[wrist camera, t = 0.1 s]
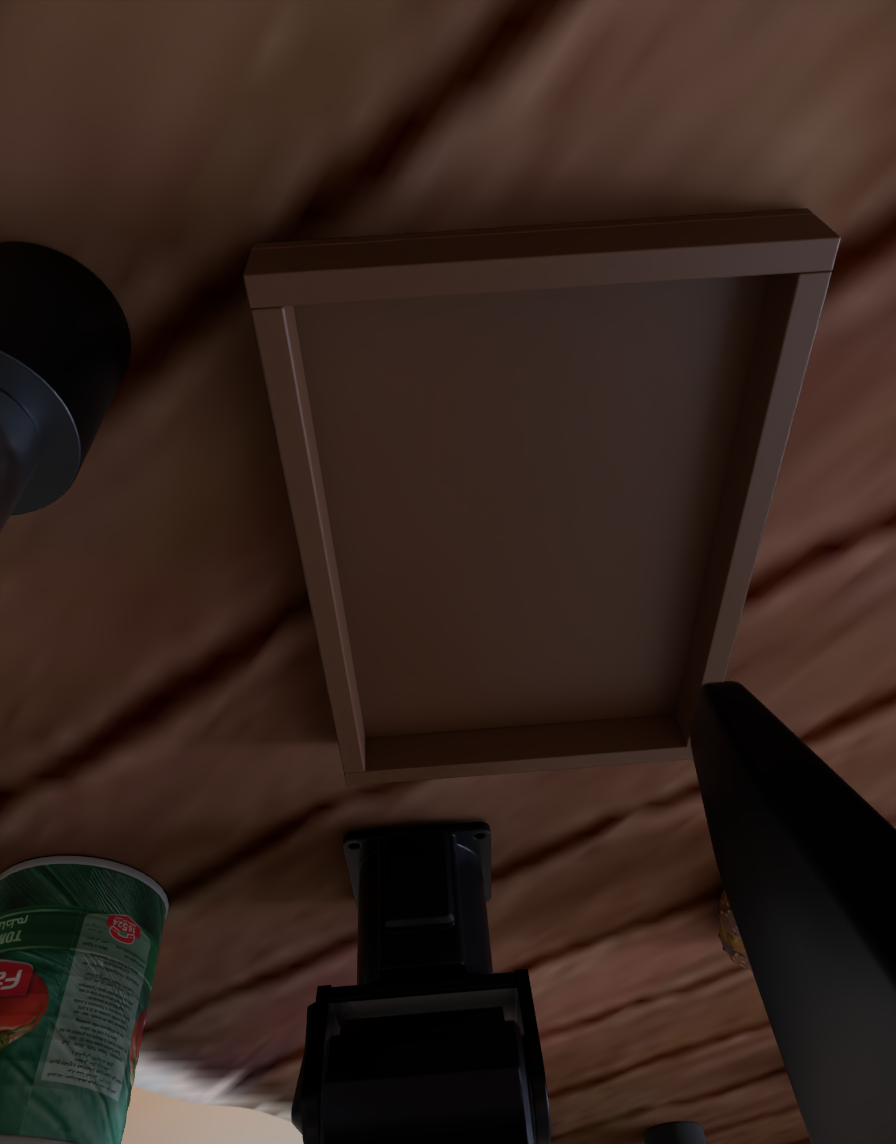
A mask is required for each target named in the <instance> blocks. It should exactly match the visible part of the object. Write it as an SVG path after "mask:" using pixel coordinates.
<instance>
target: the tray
mask: <svg viewBox="0 0 896 1144" xmlns="http://www.w3.org/2000/svg"><path fill="white" fill-rule="evenodd" d="M839 243H840V236H839V235H838V234H836V233H835V232H834V231H833V230H832V229H831V228H830V227H828V226H827V225H826V224H825V223H824V222H823V221H821V220H820V219H819V218H818V217H817V216H816V215H814V214H813V213H812V212H811V211H810V210H809V209H807V208H806V209H790V210H774V211H759V212H743V213H727V214H711V215H696V216H680V217H664V218H648V219H632V220H617V221H601V222H585V223H569V224H554V225H538V226H522V227H506V228H490V229H475V230H459V231H443V232H427V233H412V234H396V235H380V236H364V237H348V238H333V239H317V240H301V241H285V242H270V243H254V244H253V245H252V248H251V252H250V255H249V258H248V261H247V265H246V268H245V271H244V275H243V279H244V284H245V289H246V294H247V299H248V304H249V307H250V308H251V311H250V312H251V317H252V322H253V327H254V332H255V337H256V341H257V346H258V351H259V356H260V361H261V366H262V371H263V376H264V381H265V386H266V391H267V396H268V401H269V405H270V410H271V415H272V420H273V425H274V430H275V435H276V440H277V445H278V450H279V455H280V460H281V465H282V469H283V474H284V479H285V484H286V489H287V494H288V499H289V504H290V509H291V514H292V519H293V524H294V529H295V533H296V538H297V543H298V548H299V553H300V558H301V563H302V568H303V573H304V578H305V583H306V588H307V593H308V597H309V602H310V607H311V612H312V617H313V622H314V627H315V632H316V637H317V642H318V647H319V652H320V657H321V661H322V666H323V671H324V676H325V681H326V686H327V691H328V696H329V701H330V706H331V711H332V716H333V721H334V725H335V730H336V735H337V740H338V745H339V750H340V755H341V760H342V765H343V770H344V776H345V780H346V785H347V786H352V785H365V784H378V783H391V782H403V781H416V780H429V779H442V778H455V777H468V776H481V775H494V774H506V773H519V772H532V771H545V770H558V769H571V768H584V767H597V766H609V765H622V764H635V763H648V762H661V761H674V760H687V759H693V754H692V749H691V744H690V726H691V721H692V717H693V713H694V709H695V705H696V700H697V696H698V692H699V689H700V687H701V686H702V685H703V684H705V683H711V682H724V679H725V675H726V671H727V668H728V664H729V660H730V656H731V652H732V649H733V645H734V641H735V637H736V633H737V630H738V626H739V622H740V618H741V614H742V611H743V607H744V603H745V599H746V595H747V592H748V588H749V584H750V580H751V577H752V573H753V569H754V565H755V561H756V558H757V554H758V550H759V546H760V542H761V539H762V535H763V531H764V527H765V523H766V520H767V516H768V512H769V508H770V504H771V501H772V497H773V493H774V489H775V485H776V482H777V478H778V474H779V470H780V466H781V463H782V459H783V455H784V451H785V448H786V444H787V440H788V436H789V432H790V429H791V425H792V421H793V417H794V413H795V410H796V406H797V402H798V398H799V394H800V391H801V387H802V383H803V379H804V375H805V372H806V368H807V364H808V360H809V356H810V353H811V349H812V345H813V341H814V337H815V334H816V330H817V326H818V322H819V319H820V315H821V311H822V307H823V303H824V300H825V296H826V292H827V288H828V284H829V281H830V277H831V270H832V269H833V265H834V262H835V258H836V254H837V250H838V246H839Z"/></svg>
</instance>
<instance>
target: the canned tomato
mask: <svg viewBox="0 0 896 1144" xmlns="http://www.w3.org/2000/svg"><path fill="white" fill-rule="evenodd" d="M168 906H169V904H168V899H167V896H166V894H165V893H164V891H163V889H162V888H161V887H160V886H159V885H158V884H157V883H156V882H155V881H154V880H153V879H151V878H150V877H148V876H147V875H145V874H144V873H142V872H140V871H138V870H136V869H133V868H131V867H129V866H126V865H123V864H120V863H116V862H113V861H109V860H104V859H99V858H94V857H84V856H51V857H42V858H37V859H33V860H29V861H25V862H22V863H20V864H17V865H15V866H12V867H10V868H9V869H7V870H6V871H4V872H3V873H1V874H0V1144H121V1140H122V1135H123V1132H124V1128H125V1123H126V1114H127V1110H128V1107H129V1103H130V1096H131V1089H132V1086H133V1083H134V1077H135V1069H136V1065H137V1062H138V1057H139V1048H140V1045H141V1042H142V1036H143V1028H144V1025H145V1021H146V1016H147V1008H148V1005H149V1001H150V992H151V988H152V985H153V980H154V972H155V969H156V965H157V956H158V953H159V950H160V944H161V937H162V930H163V925H164V920H165V918H166V916H167V912H168Z"/></svg>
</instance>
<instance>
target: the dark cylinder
mask: <svg viewBox="0 0 896 1144" xmlns="http://www.w3.org/2000/svg"><path fill="white" fill-rule="evenodd" d="M130 353H131V340H130V332H129V328H128V324H127V321H126V318H125V316H124V313H123V311H122V309H121V307H120V306H119V304H118V302H117V300H116V299H115V297H114V296H113V294H112V293H111V292H110V290H109V289H108V288H107V287H106V286H105V284H104V283H103V282H102V281H101V280H100V279H99V278H98V277H97V276H96V275H95V274H93V273H92V272H91V271H90V270H88V269H87V268H86V267H85V266H83V265H82V264H80V263H79V262H77V261H75V260H74V259H72V258H71V257H69V256H67V255H65V254H62V253H60V252H58V251H56V250H53V249H50V248H47V247H44V246H40V245H36V244H31V243H23V242H3V243H0V533H1V531H2V530H3V528H4V526H5V524H6V522H7V520H8V518H9V516H10V515H18V514H24V513H28V512H32V511H35V510H38V509H41V508H43V507H45V506H47V505H49V504H51V503H53V502H54V501H56V500H57V499H58V498H60V497H61V496H62V495H63V494H64V493H65V492H66V491H67V490H68V489H69V488H70V487H71V485H72V483H73V482H74V480H75V479H76V477H77V474H78V472H79V470H80V468H81V466H82V464H83V462H84V459H85V457H86V455H87V453H88V451H89V449H90V447H91V444H92V442H93V440H94V438H95V436H96V434H97V432H98V429H99V427H100V425H101V423H102V421H103V419H104V417H105V414H106V412H107V410H108V408H109V406H110V404H111V402H112V399H113V397H114V395H115V393H116V391H117V389H118V386H119V384H120V382H121V380H122V378H123V376H124V374H125V371H126V369H127V366H128V363H129V359H130Z"/></svg>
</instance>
